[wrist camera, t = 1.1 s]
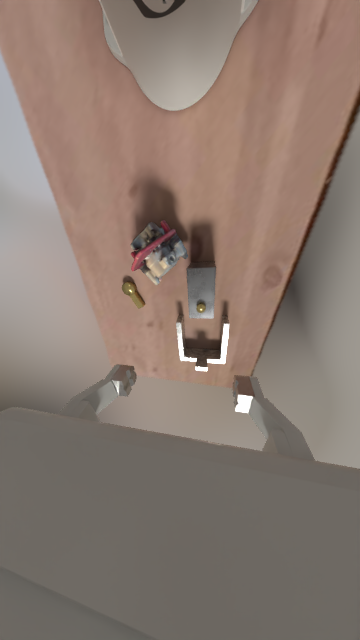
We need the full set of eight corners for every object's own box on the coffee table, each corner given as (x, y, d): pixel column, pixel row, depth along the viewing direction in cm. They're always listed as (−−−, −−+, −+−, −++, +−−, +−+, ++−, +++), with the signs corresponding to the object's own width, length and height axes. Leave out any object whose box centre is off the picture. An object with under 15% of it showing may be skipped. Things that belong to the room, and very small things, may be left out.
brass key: (122, 284, 37) (119, 286, 36) (131, 279, 36) (128, 280, 34) (138, 307, 40) (136, 309, 38) (147, 303, 38) (145, 305, 37)
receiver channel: (179, 314, 38) (173, 329, 32) (227, 315, 36) (231, 331, 30) (182, 350, 45) (178, 368, 39) (223, 353, 42) (226, 372, 36)
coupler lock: (191, 262, 31) (186, 269, 25) (214, 261, 30) (216, 268, 24) (192, 304, 36) (188, 319, 30) (212, 304, 35) (213, 320, 29)
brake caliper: (152, 193, 24) (165, 230, 19) (188, 238, 33) (205, 274, 27) (114, 240, 29) (115, 281, 24) (154, 269, 38) (162, 305, 32)
